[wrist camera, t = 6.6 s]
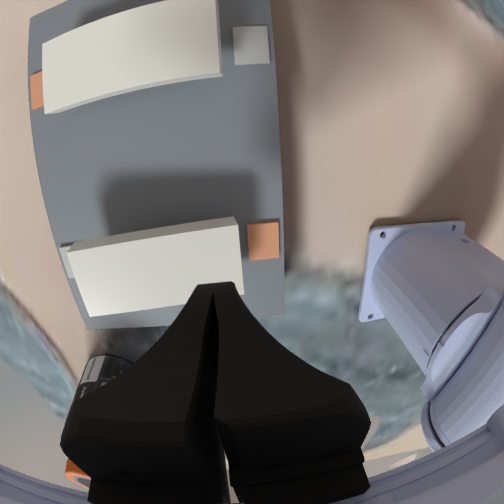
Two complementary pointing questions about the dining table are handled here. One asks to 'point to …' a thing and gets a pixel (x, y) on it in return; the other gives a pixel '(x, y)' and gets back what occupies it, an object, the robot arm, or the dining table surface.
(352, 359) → the dining table surface
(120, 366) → the pill bottle
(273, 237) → the switch base
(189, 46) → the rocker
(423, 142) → the dining table surface
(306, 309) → the dining table surface
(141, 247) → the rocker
